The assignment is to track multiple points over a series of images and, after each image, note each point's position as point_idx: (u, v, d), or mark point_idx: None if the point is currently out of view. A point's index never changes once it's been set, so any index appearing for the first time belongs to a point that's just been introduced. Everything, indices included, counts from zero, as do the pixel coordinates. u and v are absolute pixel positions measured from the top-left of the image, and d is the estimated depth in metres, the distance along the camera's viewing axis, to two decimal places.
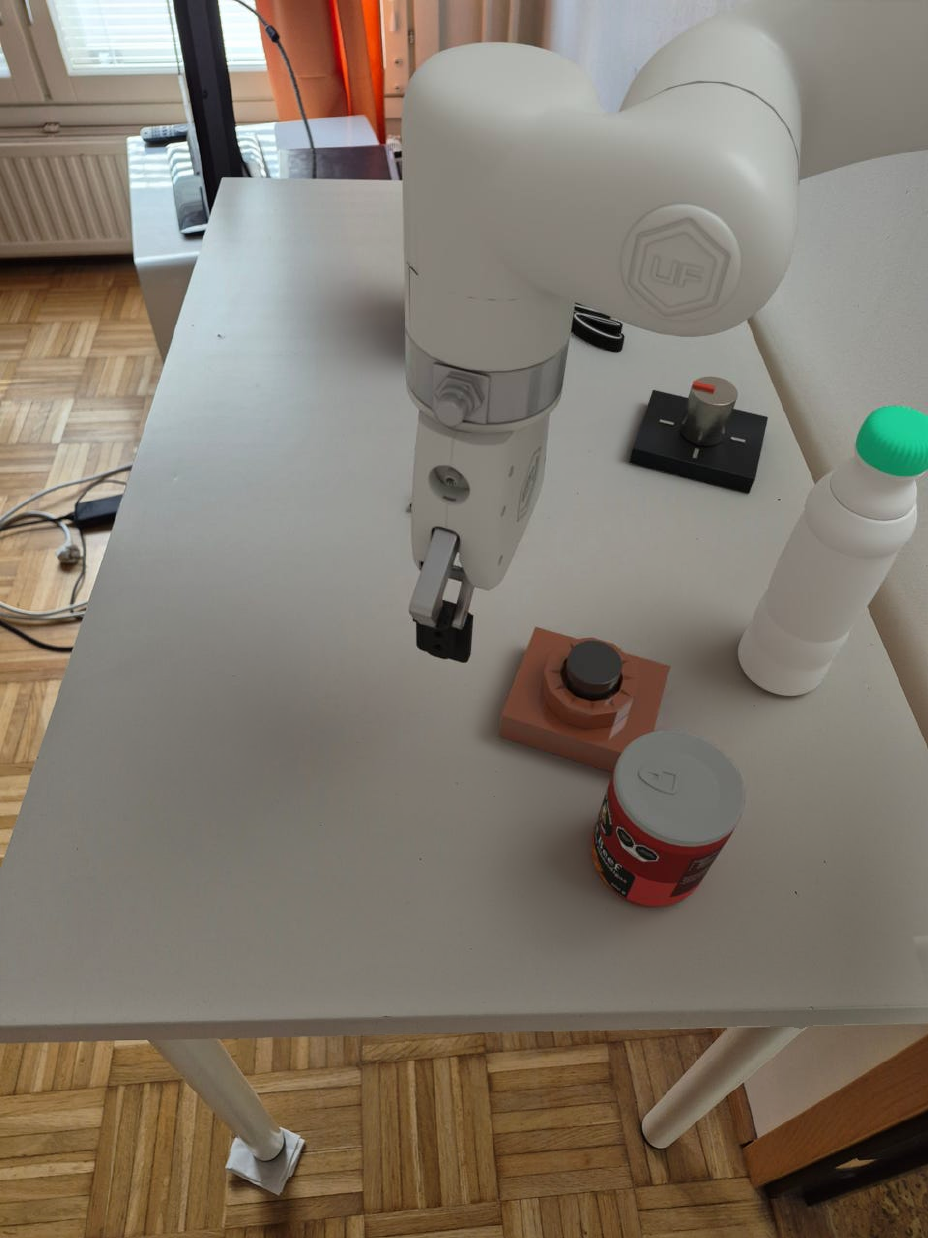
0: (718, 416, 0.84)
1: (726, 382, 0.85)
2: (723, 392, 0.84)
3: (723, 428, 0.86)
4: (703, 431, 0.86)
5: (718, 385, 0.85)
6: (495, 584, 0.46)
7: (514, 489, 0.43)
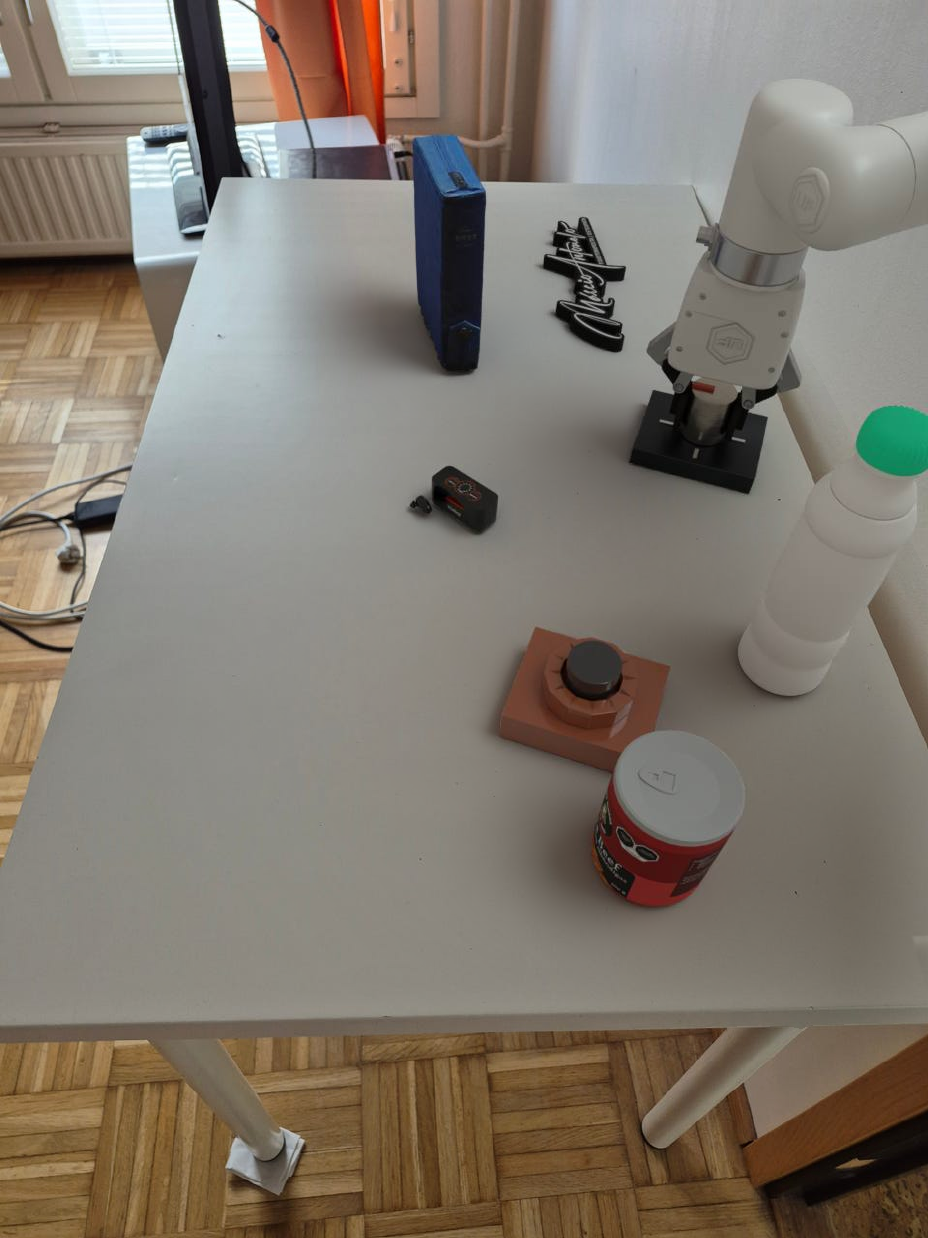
0: (718, 416, 0.84)
1: None
2: (723, 392, 0.84)
3: (723, 428, 0.86)
4: (703, 431, 0.86)
5: (718, 385, 0.85)
6: (671, 361, 0.81)
7: (703, 314, 0.76)
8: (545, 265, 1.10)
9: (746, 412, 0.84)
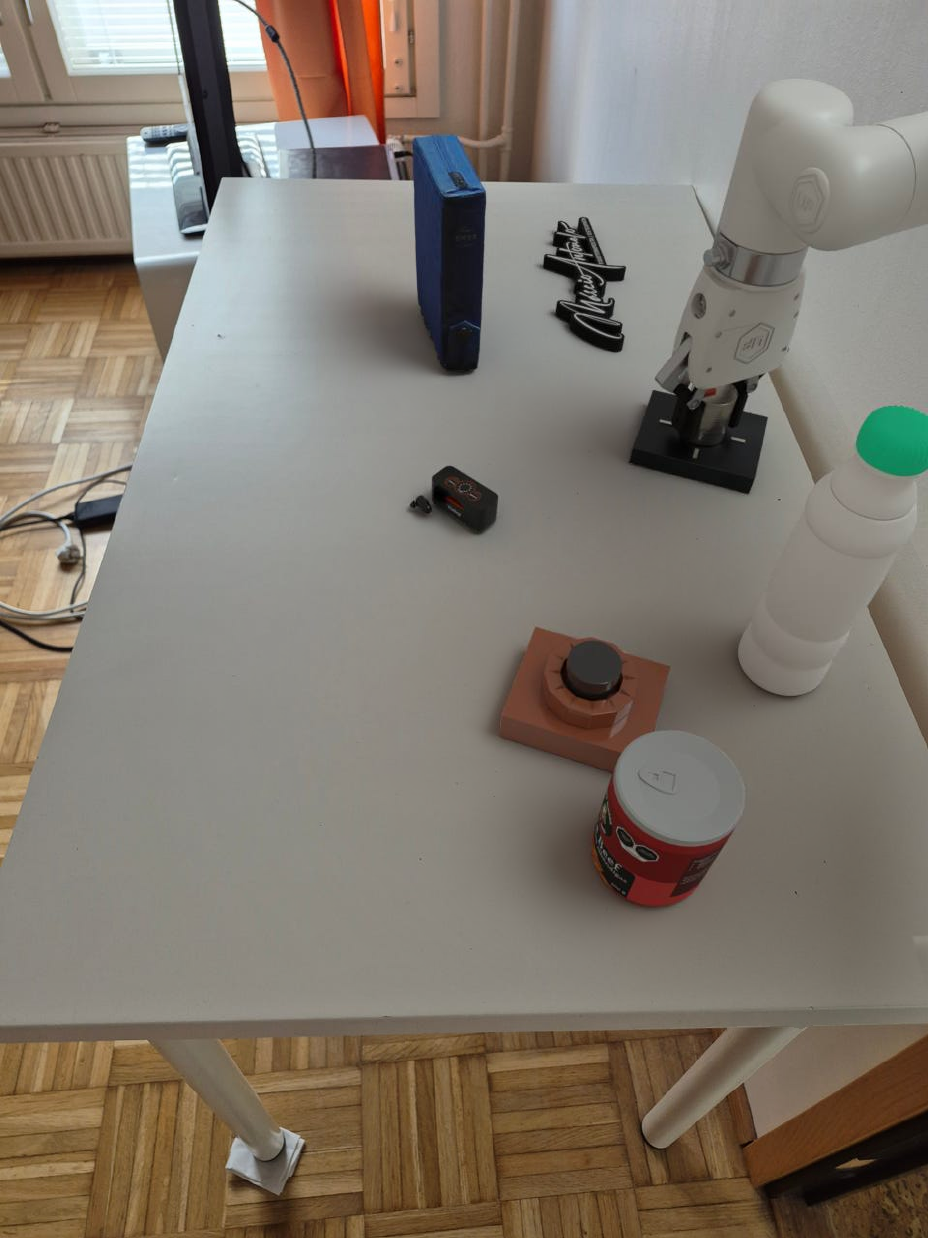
0: (731, 411, 0.85)
1: None
2: (722, 388, 0.85)
3: None
4: (719, 431, 0.86)
5: None
6: (700, 384, 0.79)
7: (732, 329, 0.75)
8: (545, 265, 1.10)
9: None
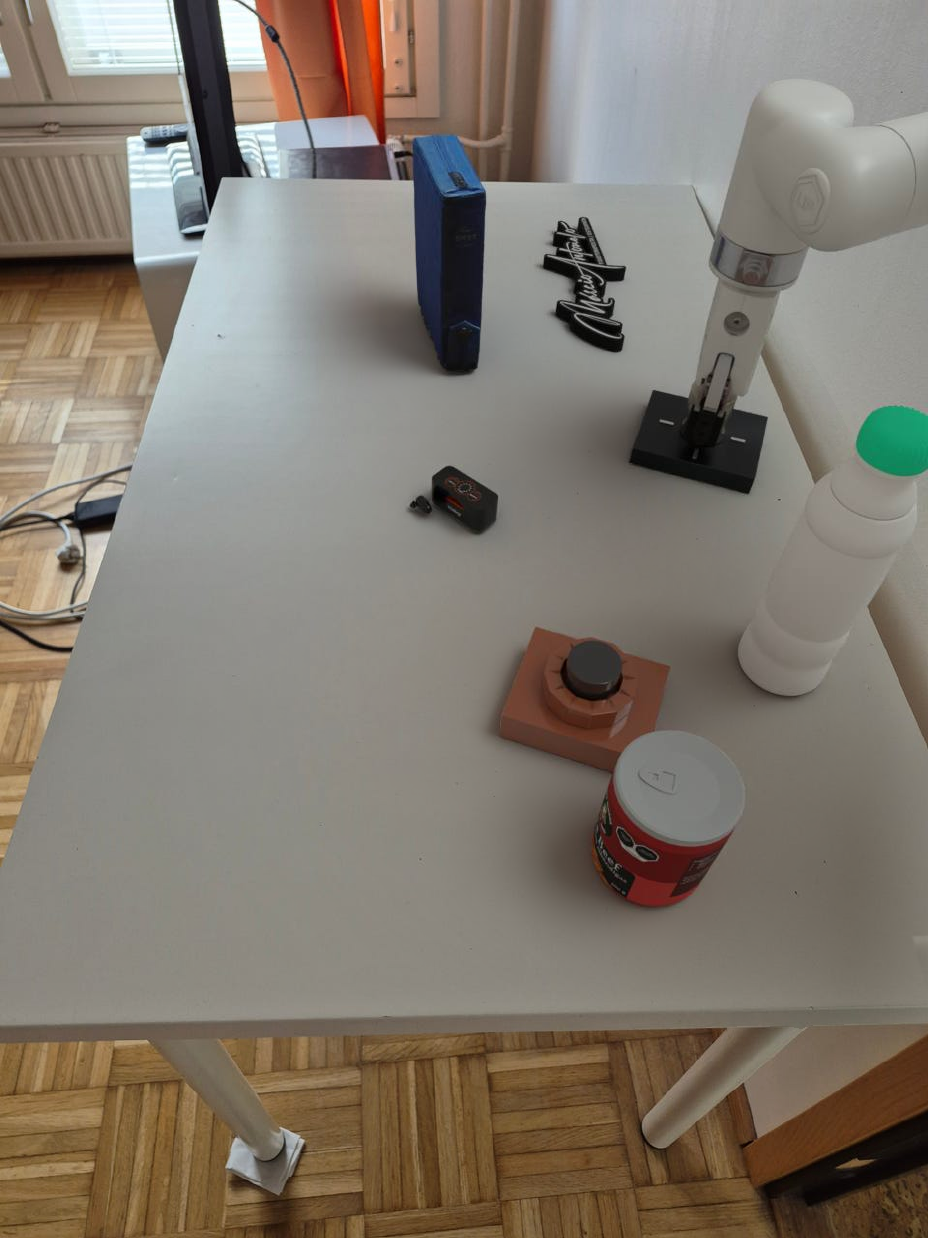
0: None
1: None
2: None
3: None
4: None
5: None
6: (746, 392, 0.78)
7: (768, 329, 0.75)
8: (545, 265, 1.10)
9: None
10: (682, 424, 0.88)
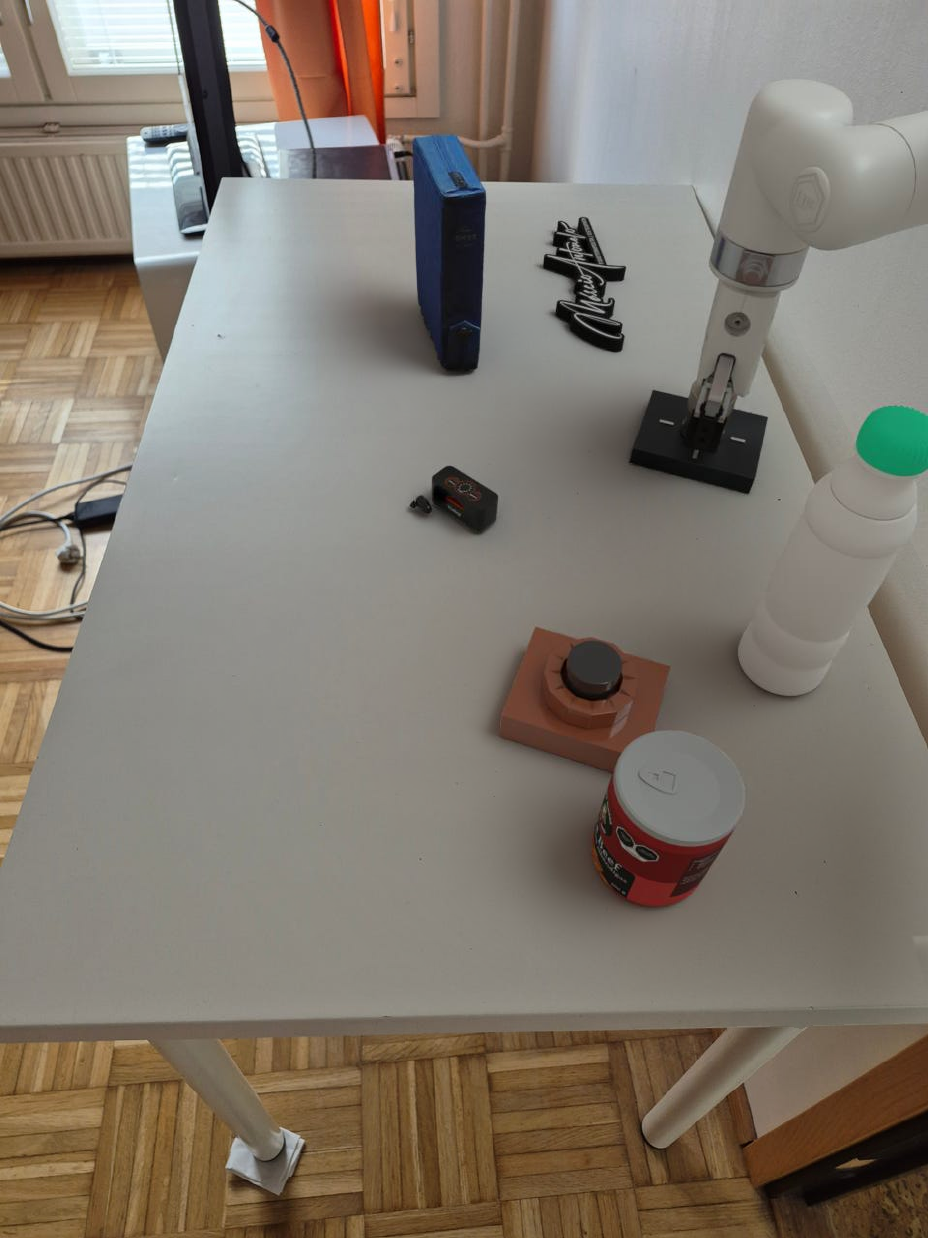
0: None
1: None
2: None
3: None
4: None
5: None
6: (748, 392, 0.78)
7: (769, 330, 0.75)
8: (545, 265, 1.10)
9: None
10: (682, 423, 0.88)
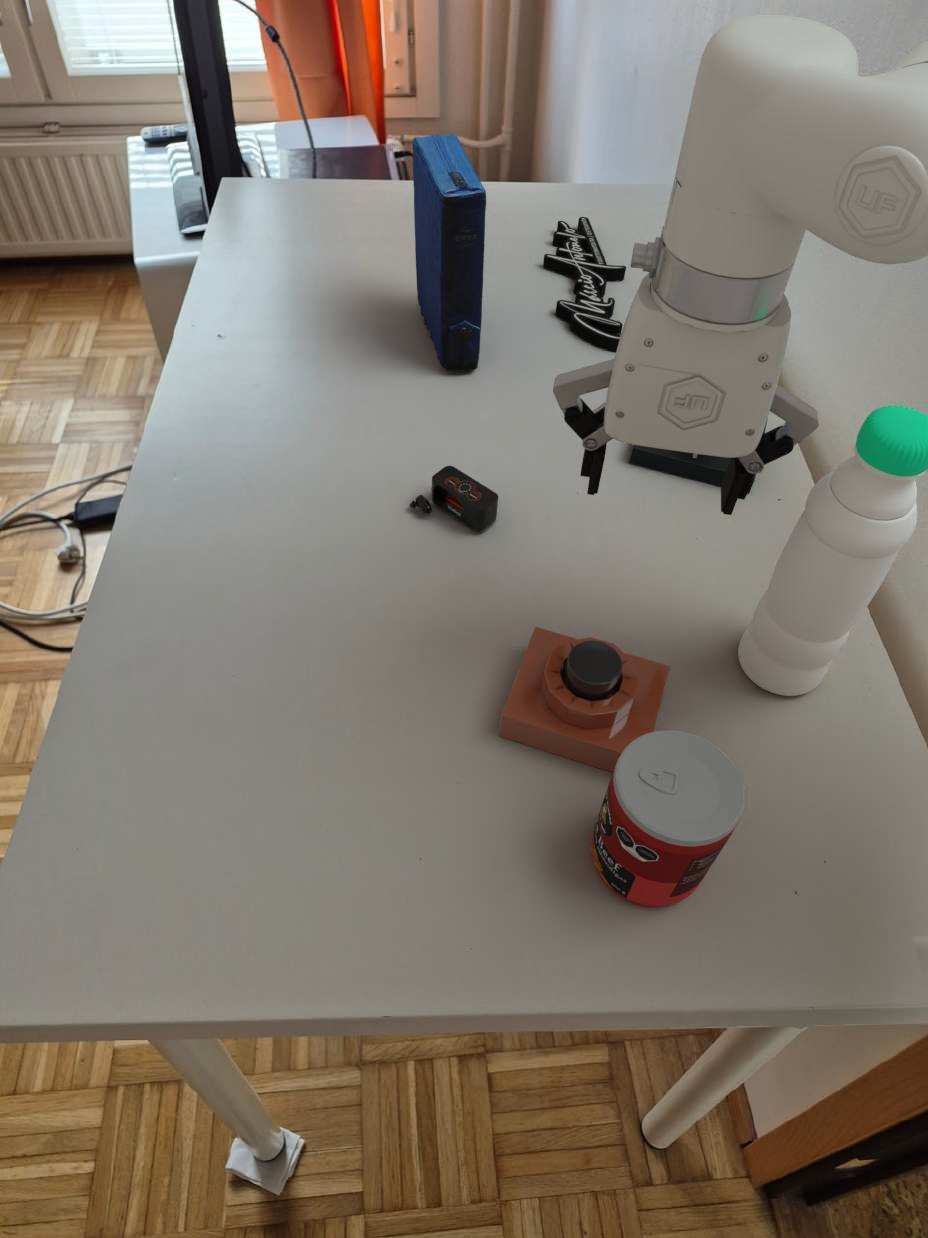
0: None
1: None
2: None
3: None
4: None
5: None
6: (609, 431, 0.58)
7: (651, 367, 0.54)
8: (545, 265, 1.10)
9: (751, 476, 0.61)
10: None
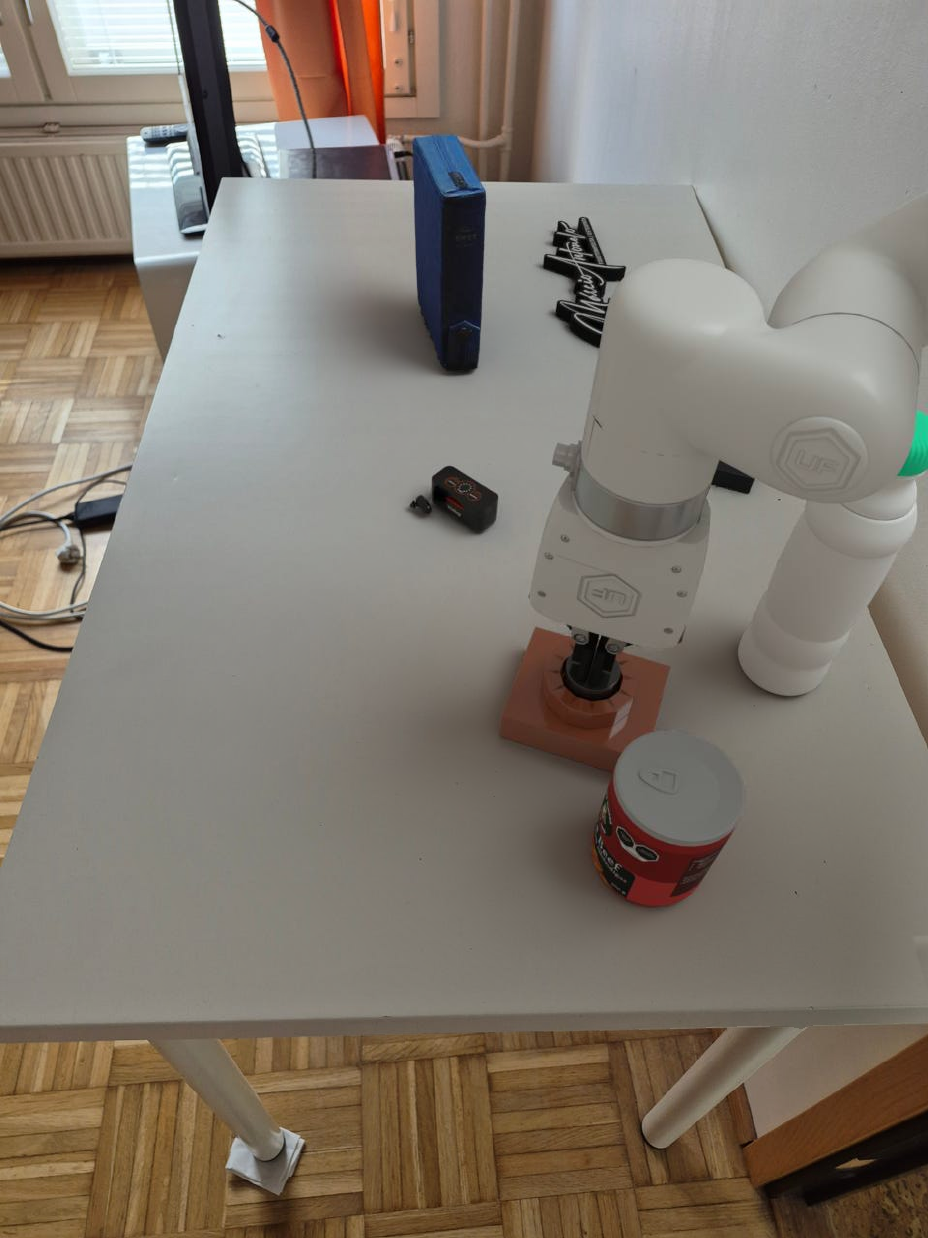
0: None
1: None
2: None
3: None
4: None
5: None
6: (533, 606, 0.58)
7: (569, 559, 0.54)
8: (545, 265, 1.10)
9: (614, 654, 0.62)
10: None
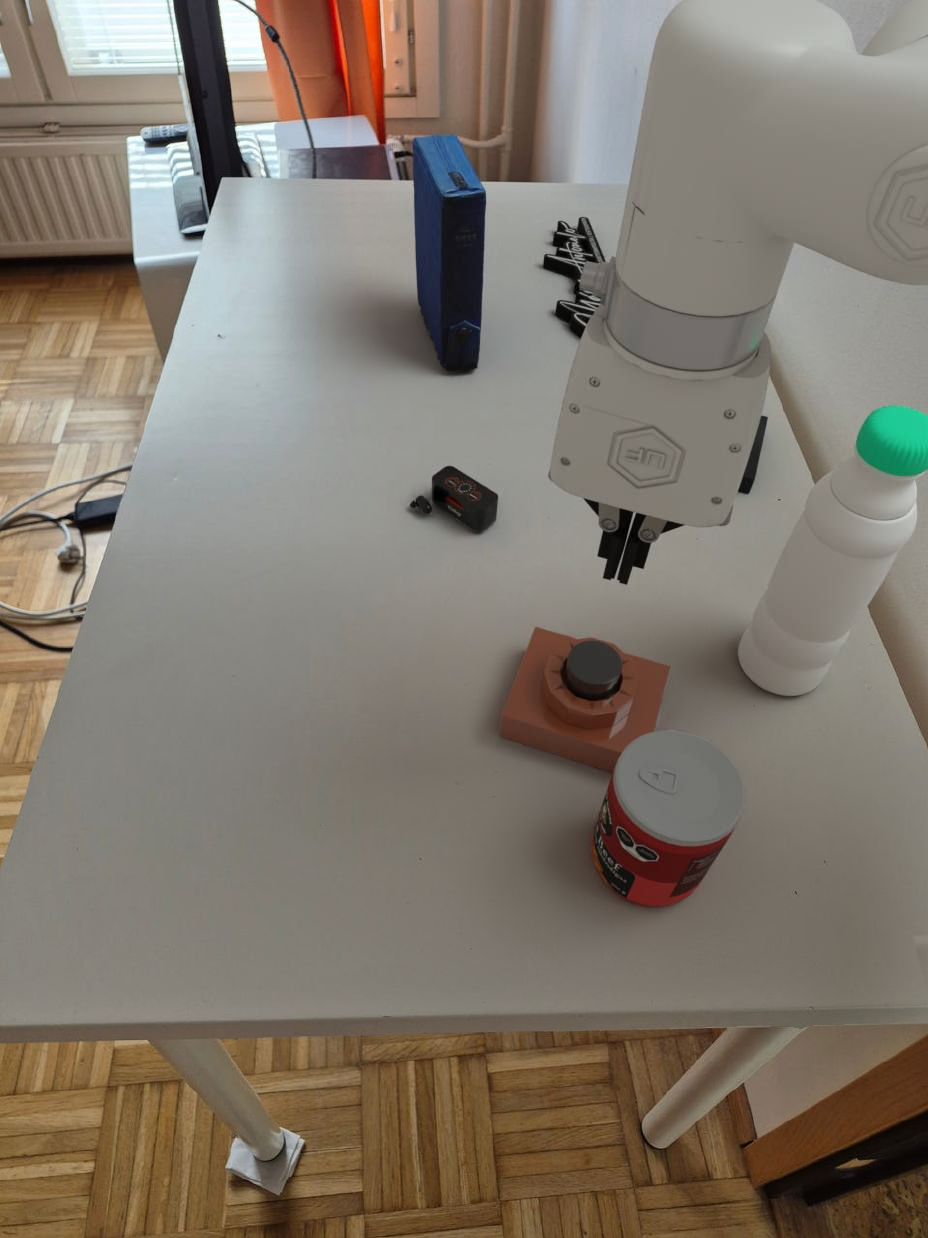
0: None
1: None
2: None
3: None
4: None
5: None
6: (554, 479, 0.49)
7: (598, 411, 0.45)
8: (545, 265, 1.10)
9: (647, 545, 0.53)
10: None
